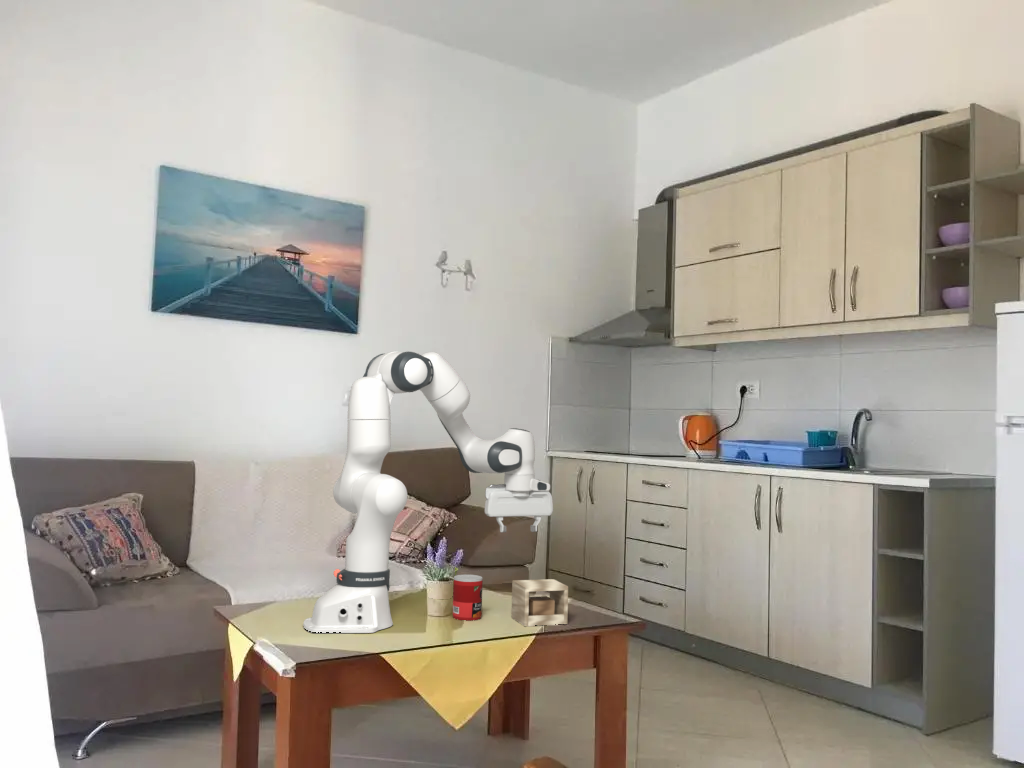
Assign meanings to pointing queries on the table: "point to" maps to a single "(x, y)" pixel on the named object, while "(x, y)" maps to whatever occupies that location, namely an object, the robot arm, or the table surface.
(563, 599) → the oak cubby
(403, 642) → the table surface
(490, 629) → the table surface
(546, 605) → the partly hidden dark block
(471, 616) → the canned food
